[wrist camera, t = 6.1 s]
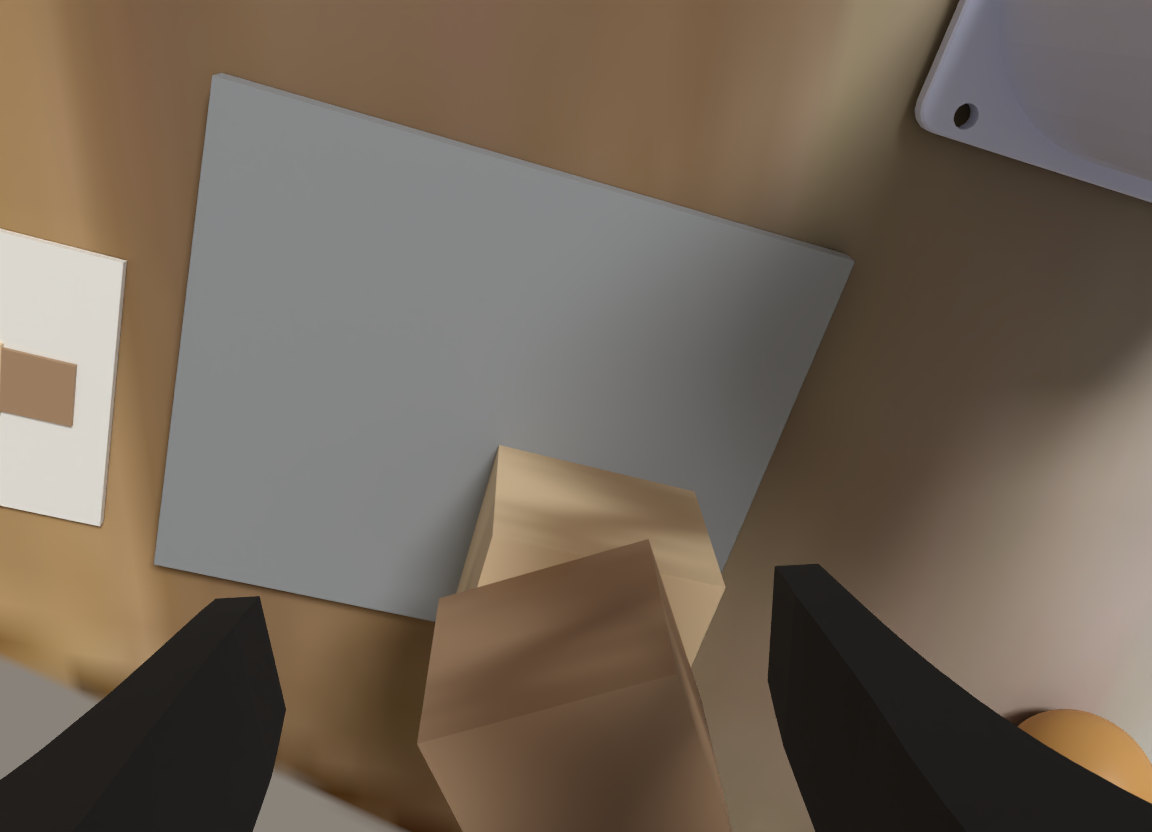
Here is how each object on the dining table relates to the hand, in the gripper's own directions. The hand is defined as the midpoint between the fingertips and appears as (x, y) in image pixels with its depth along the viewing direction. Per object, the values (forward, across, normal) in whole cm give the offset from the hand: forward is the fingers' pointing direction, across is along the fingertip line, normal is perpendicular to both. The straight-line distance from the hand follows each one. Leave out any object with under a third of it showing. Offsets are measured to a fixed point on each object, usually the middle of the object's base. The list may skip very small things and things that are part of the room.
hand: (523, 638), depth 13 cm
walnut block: (+5, -1, +5) cm, 7 cm away
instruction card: (+10, +12, -1) cm, 16 cm away
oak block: (+9, -1, +5) cm, 10 cm away
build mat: (+10, +1, +1) cm, 10 cm away
